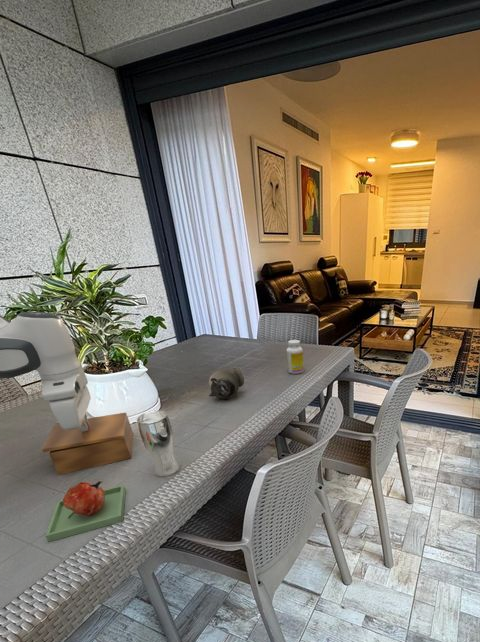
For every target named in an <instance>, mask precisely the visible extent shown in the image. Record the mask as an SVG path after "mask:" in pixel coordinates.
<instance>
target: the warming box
mask: <svg viewBox="0 0 480 642" xmlns="http://www.w3.org/2000/svg"><path fill="white" fill-rule="evenodd" d="M133 441H134V432H133V428H132V426H131V422H130V420H129V417H128V416H127V418H126V426H125V434H124V438H121V439H115V440H110V441H104V442H98V443H93V444H87V445H81V446H76V447H70V448H64V449H59V450H53V451H49V453H48V455H49V457H50V460H51V462H52V463H53V465H54V467H55V470H56V472H57V473H58V475H66V474H70V473H73V472H77V471H83V470H87V469H91V468H95V467H100V466H104V465H108V464H112V463H117V462H122V461H125V460H130V459H132V458H133V457H132V455H133Z"/></svg>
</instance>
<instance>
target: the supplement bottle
mask: <svg viewBox="0 0 480 642" xmlns="http://www.w3.org/2000/svg"><path fill="white" fill-rule="evenodd" d="M287 345H288V347H287V348H286V360H287V361H286V362H287V371H288V373H289V374H292V375H299V374H302V373H304V371H305V366H304V365H305V363H304V351H303V348H302V346H300V345H301V341H300V340H299V339H290V340H289V341H287Z"/></svg>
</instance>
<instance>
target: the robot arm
mask: <svg viewBox="0 0 480 642" xmlns="http://www.w3.org/2000/svg"><path fill="white" fill-rule="evenodd" d="M34 371H37V373H38V376H39V378H40V381H41V385H42V386H41V387H42V389H41V396H42V398H43V400H44V401H45V402H48V404H49V407H50V409H51V412H52V414H53V415H54V418H55V419H56V421H57V423H59V425H60V426H61V428H62V429H64V430H73V429H77V428H79V429H80V431H81V432H85V431H88V428H89V422H88V418H89V417H88V412H87V410H88V408H89V406H90V405H89V404H90V402H91V400H92V397H91V393H90V390H89V388H88V386H87V385H88V383H89V381H88V378H87V376H86V373H85V370H84V368H83V365H82V363H81V361H80V360H79V358H78V357H77V354H76V346H75V344H74V341H73V339H72V337H71V334H70V332H69V330H68V328H67V327H66V325H65V323H64V321H63V320H62V319H61V318H60V316H57V315H56V314H55V313H51V312H47V311H24V312H21V313H18V314H17V315H16V317H14V319H13V320H10V319H8V318H5V317H4V316H2V315H1V314H0V379H13V378H16V377H19V376H23V375H25V374H29V373H31V372H34Z"/></svg>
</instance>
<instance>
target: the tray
mask: <svg viewBox="0 0 480 642" xmlns="http://www.w3.org/2000/svg"><path fill="white" fill-rule="evenodd" d="M103 490H104V493H105V503H104V505H103V507H102V508H101V509H100V510H99V511H98V512H97V513H95V514H94V515H92V516H86V515H79V514H75V513H74V514H73V515H72V516H71V517H70V518H68V517H69V516H70V515H71V514H72V513H73V511H72V510H70V509H68V508H66V507H65V506H64V505H63V499H59V500H57V501H56V503H55V507H54V510H53V512H52V515H51V519H50V521H49V524H48V527H47V530H46V532H45V538H46V540H47V542H48V543H50V542H54V541H57V540H61V539H64V538H68V537H72V536H75V535H79V534H82V533H86V532H89V531H93V530H97V529H99V528H100V529H101V528H104V527H107V526H110V525H115V524H117V523H122V522H124V513H125V502H126V492H127V491H126V490H127V488H126V487H125V484H120V485H117V486H112V487H108V488H103Z"/></svg>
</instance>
